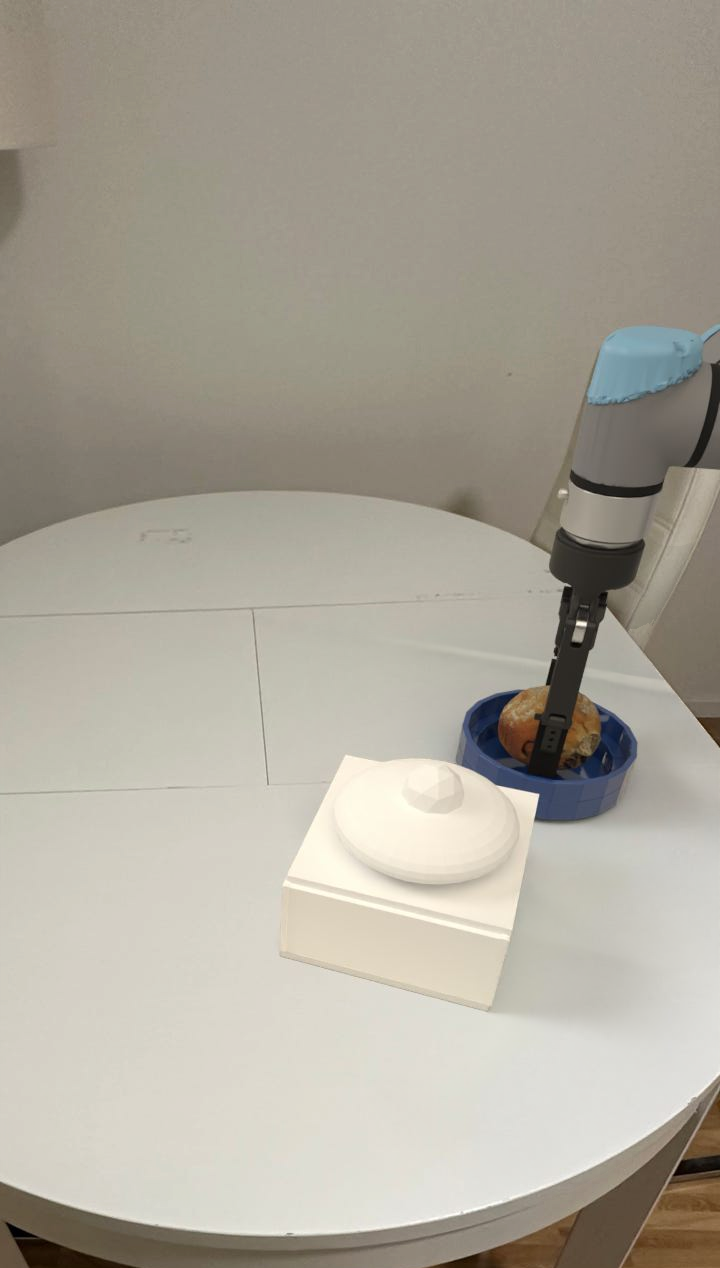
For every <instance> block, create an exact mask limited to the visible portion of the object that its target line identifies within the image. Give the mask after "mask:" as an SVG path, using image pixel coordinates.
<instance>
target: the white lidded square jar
mask: <svg viewBox="0 0 720 1268" xmlns="http://www.w3.org/2000/svg"><path fill="white" fill-rule="evenodd" d="M538 798H539V794H536V793H531V792H526V791H521V790H516V789H512V788H507V787H502V786H497V785H495V784H494V783H492V782H491V781H490V780H488V779H487V778H485V777H484V776H482V775H480V774H478V773H476V772H474V771H472V770H470V769H467V768H465V767H462V766H459V765H457V763H452V762H448V761H444V760H438V759H431V758H430V759H429V758H415V757H414V758H413V757H410V758H409V757H407V758H399V759H398V758H397V759H392V760H387V761H378V760H373V759H367V758H363V757H358V756H353V755H349V754H345V755H344V756H343V759H342V761H341V763H340V765H339V767H338V768H337V771H336V773H335V775H334V778H333V779H332V782H331V784H330V786H329V787H328V790H327V791H326V794H325V796H324V797H323V800H322V802H321V804H320V806H319V808H318V810H317V813H316V814H315V816H314V819H313V820H312V822H311V825H310V827H309V828H308V831H307V833H306V835H305V836H304V839H303V841H302V843H301V845H300V847H299V849H298V852H297V853H296V855H295V858H294V859H293V861H292V863H291V866H290V868H289V870H288V871H287V873H286V876H285V878H284V881H283V882H282V885H281V903H280V904H281V905H280V906H281V907H280V933H279V957H283V958H287V959H290V960H293V961H298V962H301V963H304V964H309V965H313V966H316V967H319V968H324V969H327V970H331V971H335V972H339V973H343V974H346V975H349V976H353V977H357V978H361V979H364V980H367V981H368V980H369V981H372V982H376V983H379V984H383V985H387V986H391V987H394V988H399V989H402V990H406V991H410V992H413V993H417V994H421V995H425V996H427V997H432V998H436V999H440V1000H443V1001H447V1002H451V1003H454V1004H458V1005H461V1006H464V1007H465V1006H466V1007H469V1008H473V1009H477V1010H480V1011H483V1012H484V1011H485V1012H489V1008H490V1007H493V1003H494V999H495V996H496V992H497V989H498V985H499V982H500V981H499V980H500V978H501V974H502V971H503V966H504V963H505V959H506V955H507V952H508V948H509V944H510V941H511V936H512V933H513V929H514V924H515V919H516V913H517V908H518V904H519V899H520V898H519V897H520V894H521V888H522V883H523V879H524V873H525V869H526V864H527V858H528V854H529V849H530V843H531V838H532V833H533V827H534V823H535V819H536V817H535V813H536V808H537V803H538Z"/></svg>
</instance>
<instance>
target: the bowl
mask: <svg viewBox="0 0 720 1268" xmlns="http://www.w3.org/2000/svg"><path fill="white" fill-rule="evenodd" d="M524 690H525V689H513V690H508V691H501V692H496V693H493V694H492V695H489V696H486V697H484V698H482V699H479V700H477V701H476V702H475V703H474V704H473V705H472V706H471V707H470V708H469V709H468V710H466V712H465V715H464V718H463V721H462V725H461V730H460V735H459V740H458V746H457V751H456V757H455V762H456V765H459V766H462V767H465V768H467V769H470V770H472V771H474V772H476V773H478V774H480V775H482V776H484V777H485V778H487V779H488V780H490V781H491V782H492V783H494V784H495V785H497V786H502V787H507V788H512V789H516V790H521V791H526V792H531V793H536V794H539V798H538V803H537V808H536V813H535V819H542V820H557V821H558V820H559V821H561V820H565V821H566V820H567V821H568V820H569V821H573V820H578V819H582V818H588V817H593V816H598V815H600V814H602V813H603V812H605V811H606V810H607V811H608V809H611V808H612V807H614V806H616V805H617V804H618V802H619V801H620V799H621V798H622V797H623V795H624V794H625V792H626V790H627V787H628V784H629V782H630V778H631V776H632V773H633V770H634V766H635V764H636V761H637V758H638V743H639V742H638V740H637V739H636V737H635V735H634V733H633V731H632V729H631V727H630V726H629V725H628V724H626V722H624V721H623V720H622V719H621V717H619V716H618V715H617V714H615V712H612V711H610V710H608V709H607V708H605V707H603V706H601V705H599V704H597V703H596V702H594V701H592V703H593V704H594V705H595V707H596V708H597V711H598V713H599V718H600V723H601V733H600V737H601V741H600V742H599V745H598V747H597V748H596V750H595V752H594V753H593V754H592V755H591V756H590V757H589V759H588V761H587V762H585V763H583V764H581V765H580V766H578V767H577V768H575V769H567V770H557V772H556V776H555V778H549V777H544V776H539V775H534V774H528V773H527V769H528V765H526V764H524V763H522V762H520V761H518V760H516V759H515V758H513V757H512V756H511V755H510V754H509V753H508V752H507V751H506V749H505V748H504V747H503V745H502V744H501V742H500V740H499V736H498V724H499V719H500V715H501V713H502V711H503V709H504V707H505V706H506V705H507V704H508V703H509V702H510V701H511V700H512V699H513V698H514V697H515V696H516V695H518V694H519V693H520V692H522V691H524Z"/></svg>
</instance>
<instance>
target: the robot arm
mask: <svg viewBox="0 0 720 1268" xmlns="http://www.w3.org/2000/svg"><path fill="white" fill-rule="evenodd" d="M585 395H586V396H585V402H584V407H583V411H582V417H581V420H580V425H579V429H578V430H579V431H578V435H577V439H576V444H575V449H574V453H573V458H572V463H571V466H570V467H571V468H570V471H569V479H568V482H567V487H560V488H559V489H558V491H557V495H556V496H557V498H558V499H559V500H561V501H563V504H562V508H561V512H560V517H559V524H560V526H561V527H559V528H558V529H557V530H556V532H555V535H554V540H553V543H552V544H553V545H552V547H551V548H552V549H551V554H550V556H549V557H550V558H549V562H548V569H549V572H550V574H551V575H552V577H554V578H555V579H556V580H557V581H559V582H561V583H562V584H567V585H563V589H562V594H561V598H560V602H559V603H560V605H559V609H558V613H557V615H558V620H559V621H558V626H557V630H556V634H555V638H554V645H555V647H554V648H553V652H552V653H553V657H556V658H551V661H550V665H549V669H548V672H547V678H546V681H545V685H544V686H547V685H550V688H549V692H548V696H547V701H546V705H545V709H544V711H543V712H542V713H541V714H538V713H535V715H534V720H540V721H539V725H538V729H537V733H536V737H535V741H534V745H533V749H532V753H531V757H530V761H529V765H528V769H527V773H528V774H534V775H539V776H544V777H549V778H555V776H556V772H557V769H558V765H559V762H560V758H561V754H562V751H563V747H564V744H565V740H566V736H567V733H568V730H569V729H570V727H571V726H572V723H573V721H572V717H573V713H574V709H575V705H576V701H577V697H578V693H579V692H580V689H581V685H582V681H583V678H584V674H585V669H586V666H587V662H588V658H589V654H590V651H592V650H593V649H594V647H595V644H596V639H597V635H598V633H599V632H598V631H599V627H600V623H601V622H603V621H604V619H605V615H606V611H607V606H608V603H607V599H608V595H609V591H611V590H613V591H616V590H620V589H623V588H626V587H628V586H629V585H631V584H632V583H633V582H634V581H635V579H636V577H637V574H638V571H639V567H640V564H641V561H642V558H643V554H644V550H645V547H646V542H645V540H644V538H647V537H648V535H649V534H650V532H651V529H652V526H653V522H654V518H655V516H656V512H657V510H658V506H659V503H660V499H661V496H662V492H663V489H664V483H665V480H666V479H665V478H666V476H667V473H668V471H669V468H671V467H676V468H687V469H688V468H689V469H703V470H705V469H706V470H715V471H717V470H719V471H720V323H718V324H716V325H713V326H712V327H710V328H709V329H708V330H706V331H705V332H704V333H703V334H701V336H700V335H699V334H697V333H695V332H692V331H689V330H686V329H683V328H678V327H677V328H676V327H665V326H661V325H634V326H627V327H622V328H619V329H617V330H615V331H613V332H611V333H610V334H609V335H608V336H606V338H605V339H604V340H603V342H602V344H601V347H600V349H599V352H598V356H597V360H596V363H595V367H594V371H593V374H592V377H591V381H590V385H589V387H588V389H587V390H586V394H585Z"/></svg>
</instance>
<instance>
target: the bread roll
mask: <svg viewBox="0 0 720 1268" xmlns="http://www.w3.org/2000/svg"><path fill="white" fill-rule="evenodd" d="M549 688H550V685H547V686H545V685H540V686H539V685H538V686H534V687H529V688H526V689H523V690H524V691H522V692H520V693H519V694H518V695H516V696H515V697H514V698H513V699H512V700H511V701H510V702H509V703H508V704H507V705H506V706H505V707H504V709H503V711H502V713H501V715H500V719H499V724H498V736H499V740H500V742H501V744H502V745H503V747H504V748H505V749H506V751H507V752H508V753H509V754H510V755H511V756H512V757H513V758H515V759H516V760H518V761H520V762H522V763H524V764H526V765H529V761H530V757H531V753H532V749H533V745H534V741H535V737H536V733H537V729H538V725H539V721H540V720H534V715H535V713H538V714H541V713H542V712H543V711H544V709H545V705H546V701H547V696H548V692H549ZM592 702H593V701H592V700H591V699H590V698H589V697H588V696H586V694H583V693H582V692H580V691H579V693H578V697H577V701H576V705H575V709H574V713H573V717H572V721H573V723H572V726H571V727H570V729H569V730H568V733H567V736H566V740H565V744H564V747H563V751H562V754H561V758H560V762H559V765H558V769H557V770H567V769H575V768H577V767H578V766H580V765H581V764H583V763H585V762H587V761H588V759H589V757H590V756H591V755H592V754H593V753H594V752H595V750H596V748H597V747H598V745H599V742H600V741H601V737H600V733H601V723H600V718H599V713H598V711H597V708H596V707H595V705H594V704H593V703H592Z"/></svg>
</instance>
